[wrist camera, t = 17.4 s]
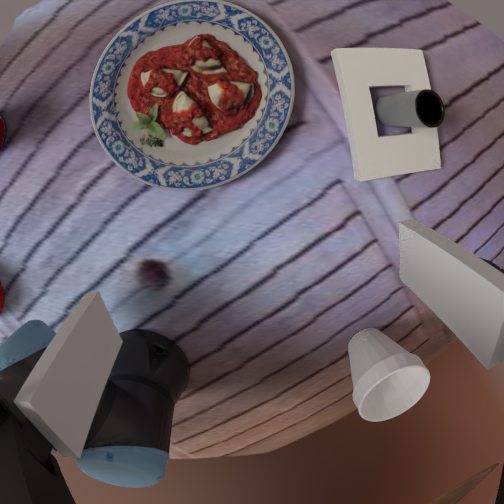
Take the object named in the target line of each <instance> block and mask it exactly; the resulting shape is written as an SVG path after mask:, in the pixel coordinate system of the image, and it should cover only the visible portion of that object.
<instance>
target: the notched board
mask: <svg viewBox="0 0 504 504" xmlns="http://www.w3.org/2000/svg"><path fill="white" fill-rule="evenodd" d="M331 56H332V60H333V64H334V69H335V73H336V77H337V81H338V86H339V90H340V95H341V100H342V105H343V110H344V115H345V120H346V126H347V131H348V137H349V143H350V149H351V155H352V162H353V169H354V176H355V179H356V180H358V181H366V180H372V179H378V178H383V177H389V176H395V175H401V174H407V173H413V172H420V171H426V170H432V169H439V168H441V161H440V150H439V141H438V132H437V127H435V128H424V127H411V129H412V133H402V134H393V135H384V136H378V133H377V127H376V121H375V115H374V110H373V105H372V99H371V94H370V90H369V88H371V87H396V86H404V88H405V92H409V91H416V90H423V89H429V90H431V88H430V83H429V78H428V73H427V69H426V64H425V60H424V56H423V52H422V50H415V49H398V48H339V49H334V50H333V51H331Z"/></svg>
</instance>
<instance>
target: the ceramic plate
mask: <svg viewBox="0 0 504 504" xmlns="http://www.w3.org/2000/svg"><path fill="white" fill-rule="evenodd" d="M294 95H295V81H294V74H293V68H292V64H291V61H290V58H289V56H288V53H287V51H286V49H285V47H284V45H283V43H282V42H281V40H280V39H279V37H278V36H277V35H276V33H275V32H274V31H273V30H272V29H271V28H270V27H269V26H268V25H267V24H266V23H265V22H264V21H263V20H262V19H260V18H259V17H258V16H256V15H255V14H253V13H251V12H250V11H248V10H246V9H244V8H242V7H240V6H237V5H235V4H232V3H229V2H225V1H221V0H177V1H172V2H168V3H165V4H162V5H159V6H157V7H154V8H152V9H150V10H148V11H146V12H144V13H142V14H141V15H139V16H138V17H136V18H135V19H133V20H132V21H131V22H129V23H128V24H127V25H126V26H125V27H124V28H122V29H121V30H120V31H119V32H118V33H117V34H116V36H115V37H114V38H113V39H112V40H111V42H110V43H109V44H108V46H107V47H106V48H105V50H104V52H103V54H102V55H101V57H100V59H99V61H98V64H97V66H96V69H95V72H94V74H93V78H92V83H91V89H90V113H91V119H92V123H93V127H94V130H95V133H96V136H97V138H98V140H99V142H100V144H101V145H102V147H103V149H104V150H105V152H106V153H107V154H108V156H109V157H110V158H111V159H112V160H113V161H114V162H115V163H116V165H117V166H119V167H120V168H121V169H122V170H123V171H125V172H126V173H128V174H129V175H131V176H132V177H134V178H135V179H137V180H139V181H141V182H144V183H146V184H148V185H151V186H155V187H158V188H162V189H167V190H175V191H193V190H203V189H208V188H212V187H216V186H219V185H222V184H225V183H227V182H230V181H232V180H234V179H236V178H238V177H240V176H241V175H243V174H245V173H246V172H248V171H249V170H251V169H252V168H254V167H255V166H256V165H257V164H258V163H260V162H261V161H262V160H263V159H264V158H265V157H266V156H267V155H268V154H269V152H270V151H271V150H272V149H273V148H274V146H275V145H276V144H277V142H278V141H279V139H280V138H281V136H282V134H283V132H284V130H285V128H286V126H287V124H288V121H289V119H290V116H291V112H292V108H293V102H294Z"/></svg>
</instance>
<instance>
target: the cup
mask: <svg viewBox="0 0 504 504" xmlns="http://www.w3.org/2000/svg"><path fill="white" fill-rule="evenodd" d="M348 353H349V360H350V366H351V373H352V381H353V388H354V390H353V395H352V396H353V401H354V403H355V405H356V407H357V409H358V410H359V414H360V415H361V417H362V418H363V419H365V420H367V421H375V422H376V421H384V420H387V419H390V418H393V417H395V416H398V415H400V414H401V413H403V412H405V411H406V410H408V409H409V408H410V407H412V406H413V405H414V404H415V403H416V402H417V401H418V400H419V399H420V398H421V397H422V396H423V394H424V393H425V391H426V390H427V387H428V385H429V383H430V373H429V370H428V369H427V368H426V367H425V365H424V364H423V362H422V360H421V359H420V358H419V357H418V356H417V355H415V354H412V353H409V352H408V351H407V350H405V349H404V348H403V347H401V346H400V345H398V344H397V343H396V342H394V341H393V340H392V339H390V338H389V337H388V336H386V335H385V334H383V333H382V332H381V331H379V330H378V329H375V328H367V329H364V330H361V331H360V332H358V333H357V334H355V335H354V336H353V337H352V339H351V340H350V342H349V344H348Z"/></svg>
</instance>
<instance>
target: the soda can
mask: <svg viewBox="0 0 504 504" xmlns="http://www.w3.org/2000/svg"><path fill="white" fill-rule="evenodd" d="M4 138H5V123H4V120H3V119H2V117H1V116H0V148H1V147H2V144H3V142H4Z"/></svg>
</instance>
